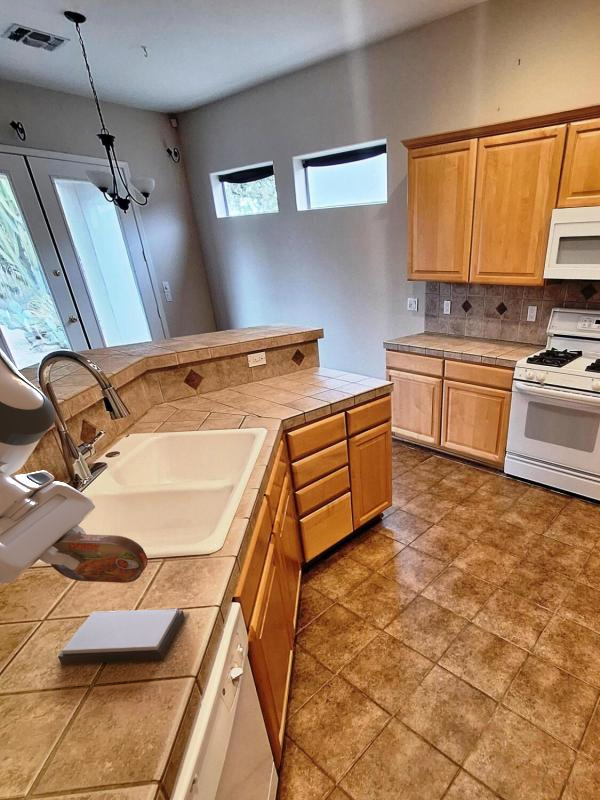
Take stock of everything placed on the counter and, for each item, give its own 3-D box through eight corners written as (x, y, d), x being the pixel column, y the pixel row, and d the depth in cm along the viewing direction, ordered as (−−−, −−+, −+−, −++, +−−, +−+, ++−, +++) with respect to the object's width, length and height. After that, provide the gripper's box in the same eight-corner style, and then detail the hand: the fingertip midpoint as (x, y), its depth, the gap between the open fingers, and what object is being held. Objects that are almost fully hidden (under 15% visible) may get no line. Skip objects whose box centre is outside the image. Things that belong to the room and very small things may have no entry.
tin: (57, 580, 72) (35, 543, 67) (70, 566, 74) (49, 529, 69) (147, 584, 72) (131, 547, 67) (156, 570, 74) (141, 534, 69)
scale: (62, 666, 70) (56, 653, 69) (96, 622, 79) (91, 609, 78) (162, 661, 72) (158, 648, 70) (185, 618, 81) (182, 606, 79)
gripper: (-51, 530, 55) (55, 587, 60) (52, 466, 73) (127, 514, 79) (-72, 559, 57) (33, 612, 62) (34, 490, 75) (108, 535, 80)
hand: (86, 557), depth 70 cm, fingers closed on tin, 3 cm apart
